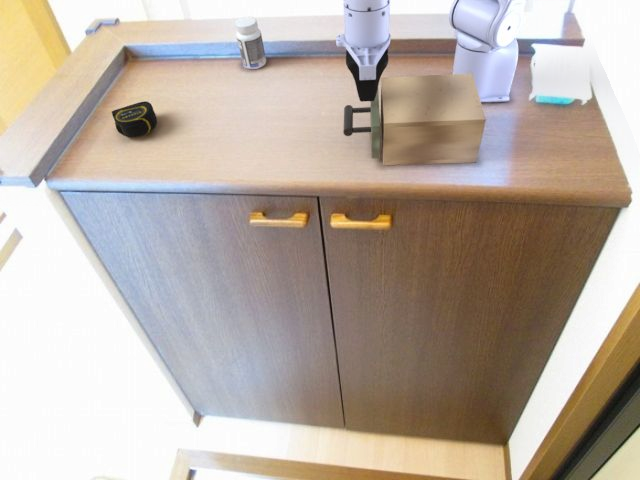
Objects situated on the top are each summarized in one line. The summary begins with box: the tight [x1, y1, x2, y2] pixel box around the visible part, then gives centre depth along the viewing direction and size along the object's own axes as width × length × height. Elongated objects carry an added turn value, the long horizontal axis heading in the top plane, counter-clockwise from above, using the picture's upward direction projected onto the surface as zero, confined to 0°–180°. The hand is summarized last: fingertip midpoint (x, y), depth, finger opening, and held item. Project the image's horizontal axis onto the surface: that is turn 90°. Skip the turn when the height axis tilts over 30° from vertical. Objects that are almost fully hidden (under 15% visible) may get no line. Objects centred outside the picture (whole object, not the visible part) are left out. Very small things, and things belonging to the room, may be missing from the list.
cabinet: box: [380, 73, 487, 166], centre depth 69 cm, size 14×12×8 cm
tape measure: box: [111, 101, 158, 138], centre depth 79 cm, size 7×7×4 cm
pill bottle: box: [235, 16, 267, 70], centre depth 89 cm, size 5×5×8 cm
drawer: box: [342, 88, 381, 159], centre depth 70 cm, size 17×10×6 cm, turn 87°
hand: (367, 98), depth 67 cm, fingers closed
